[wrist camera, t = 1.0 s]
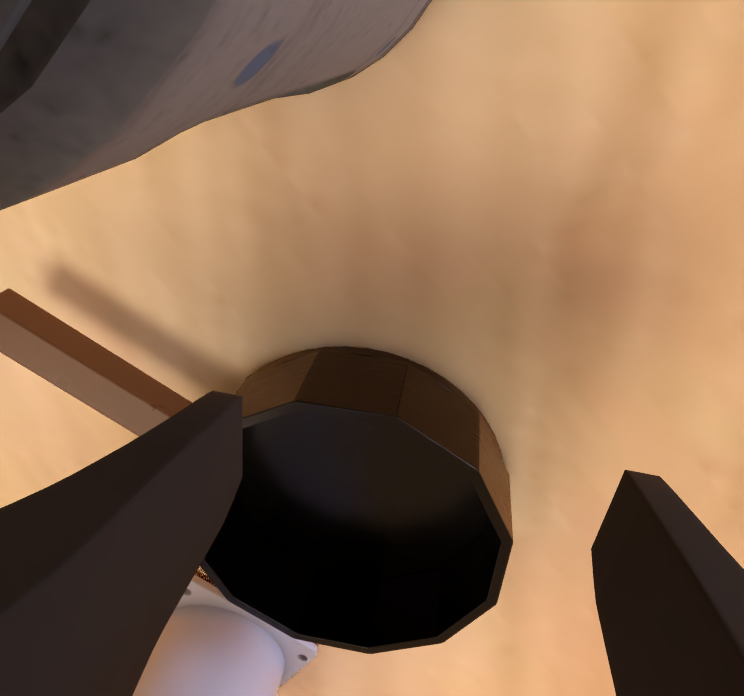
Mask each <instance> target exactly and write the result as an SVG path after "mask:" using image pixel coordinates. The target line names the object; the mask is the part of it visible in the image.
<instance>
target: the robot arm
mask: <svg viewBox="0 0 744 696" xmlns="http://www.w3.org/2000/svg"><path fill="white" fill-rule="evenodd" d="M242 420H243V396H238V395H232V394H227V393H222V392H217V391H211V392H209V393H208V394H206V395H204V396H203V397H201V398H199V399H198V400H196V401H195V402H193V403H192V404H190V405H188V406H187V407H185V408H184V409H182V410H181V411H179V412H178V413H176V414H175V415H173V416H171V417H170V418H168V419H167V420H165V421H164V422H162V423H160V424H159V425H157V426H156V427H154V428H152V429H151V430H149V431H148V432H146V433H144V434H143V435H141V436H139V437H138V438H136V439H135V440H133V441H131V442H130V443H128V444H126V445H125V446H123V447H121V448H119V449H118V450H116V451H114V452H112V453H110V454H109V455H107V456H105V457H103V458H101V459H100V460H98V461H96V462H94V463H92V464H91V465H89V466H87V467H85V468H84V469H82V470H80V471H78V472H76V473H74V474H73V475H71V476H69V477H67V478H65V479H63V480H61V481H59V482H57V483H55V484H53V485H51V486H49V487H47V488H44V489H42V490H40V491H38V492H36V493H34V494H31V495H29V496H27V497H25V498H23V499H21V500H18V501H16V502H14V503H12V504H9V505H7V506H5V507H2V508H0V696H276V695H277V692H278V688H280V687H281V686H282V685H283V684H284V683H285V682H287V681H288V680H289V679H290V678H291V677H293V676H294V675H295V674H296V673H297V672H298V671H300V670H301V669H302V668H303V667H304V666H306V665H307V664H308V663H309V662H310V661H311V660H313V659H314V658H315V657H316V655H317V652H318V647H317V646H316V644H314V643H312V642H307V641H302V640H297V639H294V638H291V637H290V636H288V635H286V634H284V633H283V632H281V631H279V630H277V629H276V628H274V627H272V626H271V625H269V624H267V623H265V622H264V621H262V620H260V619H258V618H257V617H255V616H253V615H251V614H250V613H248V612H246V611H244V610H243V609H241V608H239V607H237V606H236V605H234V604H232V603H230V602H229V601H228V600H226V598H225V597H224V596H223V594H222V593H221V592H220V591H219V589H218V588H217V587H216V586H214V585H212V584H210V583H209V582H207V581H205V580H203V579H202V578H200V577H198V576H196V575H195V573H196V571H197V570H198V568H199V566H200V564H201V563H202V561H203V559H204V557H205V556H206V554H207V552H208V550H209V549H210V547H211V545H212V543H213V541H214V540H215V538H216V536H217V534H218V532H219V531H220V529H221V527H222V525H223V523H224V521H225V519H226V516H227V514H228V512H229V509H230V507H231V505H232V502H233V500H234V497H235V495H236V492H237V490H238V487H239V485H240V482H241V479H242ZM591 551H592V565H593V578H594V588H595V598H596V605H597V610H598V615H599V619H600V624H601V629H602V633H603V638H604V643H605V647H606V652H607V656H608V661H609V665H610V669H611V674H612V678H613V683H614V687H615V692H616V696H744V569H743V568H742V567H741V566H740V565H739V564H738V563H737V562H736V560H735V559H734V558H733V557H732V556H731V555H730V554H729V553H728V552H727V551H726V549H725V548H724V547H723V546H722V545H721V544H720V543H719V542H718V540H717V539H716V538H715V537H714V536H713V535H712V534H711V533H710V531H709V530H708V529H707V528H706V527H705V526H704V525H703V524H702V522H701V521H700V520H699V519H698V518H697V517H696V516H695V515H694V513H693V512H692V511H691V510H690V509H689V508H688V507H687V505H686V504H685V503H684V502H683V501H682V500H681V499H680V498H679V496H678V495H677V494H676V493H675V492H674V491H673V490H672V489H671V488H670V487H669V485H668V484H667V483H666V482H665V481H664V480H663V479H662V478H661V477H660V476H655V475H650V474H645V473H639V472H634V471H629V470H625V471H624V474H623V476H622V478H621V481H620V483H619V485H618V488H617V490H616V492H615V495H614V497H613V499H612V502H611V504H610V506H609V509H608V511H607V513H606V516H605V518H604V520H603V522H602V525H601V527H600V529H599V532H598V534H597V536H596V539H595V541H594V543H593V546H592V548H591Z"/></svg>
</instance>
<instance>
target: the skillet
mask: <svg viewBox="0 0 744 696" xmlns="http://www.w3.org/2000/svg"><path fill="white" fill-rule="evenodd" d="M0 352H1V353H3V354H4V355H6V356H8V357H9V358H11V359H13V360H14V361H16V362H17V363H19V364H21V365H22V366H24V367H26V368H27V369H29V370H31V371H32V372H34V373H36V374H37V375H39V376H41V377H42V378H44V379H45V380H47V381H49V382H50V383H52V384H54V385H55V386H57V387H59V388H60V389H62V390H64V391H65V392H67V393H69V394H70V395H72V396H73V397H75V398H77V399H78V400H80V401H82V402H83V403H85V404H87V405H88V406H90V407H92V408H93V409H95V410H97V411H98V412H100V413H101V414H103V415H105V416H106V417H108V418H110V419H111V420H113V421H115V422H116V423H118V424H120V425H121V426H123V427H125V428H126V429H128V430H129V431H131V432H133V433H134V434H136V435H138V436H141V435H143V434H144V433H146V432H148V431H149V430H151V429H152V428H154V427H156V426H157V425H159V424H160V423H162V422H164V421H165V420H167V419H168V418H170V417H171V416H173V415H175V414H176V413H178V412H179V411H181V410H182V409H184V408H185V407H187V406H188V405H190V404H192V402H190V401H188V400H187V399H185V398H184V397H182V396H180V395H179V394H177V393H176V392H174V391H172V390H171V389H169V388H168V387H166V386H165V385H163V384H161V383H160V382H158V381H157V380H155V379H153V378H152V377H150V376H149V375H147V374H145V373H144V372H142V371H141V370H139V369H137V368H136V367H134V366H133V365H131V364H129V363H128V362H126V361H125V360H123V359H121V358H120V357H118V356H117V355H115V354H113V353H112V352H110V351H109V350H107V349H105V348H104V347H102V346H101V345H99V344H97V343H96V342H94V341H93V340H91V339H90V338H88V337H86V336H85V335H83V334H82V333H80V332H78V331H77V330H75V329H74V328H72V327H70V326H69V325H67V324H66V323H64V322H62V321H61V320H59V319H58V318H56V317H54V316H53V315H51V314H50V313H48V312H46V311H45V310H43V309H42V308H40V307H38V306H37V305H35V304H34V303H32V302H30V301H29V300H27V299H26V298H24V297H22V296H21V295H19V294H18V293H16V292H15V291H13V290H11V289H6V290H5V291H3V292H1V293H0ZM236 395H238V396H243V420H242V479H241V482H240V485H239V487H238V490H237V492H236V495H235V497H234V500H233V502H232V505H231V507H230V509H229V512H228V514H227V516H226V519H225V521H224V523H223V525H222V527H221V529H220V531H219V532H218V534H217V536H216V538H215V540H214V541H213V543H212V545H211V547H210V549H209V550H208V552H207V554H206V556H205V557H204V559H203V561H202V563H201V564H200V567H201V568H202V569H203V570H204V572H205V573H206V574H207V576H208V577H209V578H210V579H211V581H212V582H213V583H214V584H215V586H216V587H217V588H218V589H219V591H220V592H221V593H222V594H223V596H224V597H225V598H226V600H228V601H229V602H230V603H232V604H234V605H236V606H237V607H239V608H241V609H243V610H244V611H246V612H248V613H250V614H251V615H253V616H255V617H257V618H258V619H260V620H262V621H264V622H265V623H267V624H269V625H271V626H272V627H274V628H276V629H277V630H279V631H281V632H283V633H284V634H286V635H288V636H290V637H291V638H294V639H297V640H302V641H307V642H312V643H317V644H322V645H327V646H332V647H337V648H342V649H347V650H352V651H357V652H362V653H367V654H369V653H370V654H374V653H380V652H387V651H393V650H400V649H407V648H413V647H420V646H426V645H433V644H440V643H442V642H445V641H446V640H448V639H449V638H450V637H452V636H453V635H454V634H456V633H457V632H459V631H460V630H461V629H463V628H464V627H466V626H467V625H468V624H470V623H471V622H473V621H474V620H475V619H477V618H478V617H479V616H481V615H482V614H484V613H485V612H486V611H488V610H489V609H491V608H492V607H493V606H495V605H496V604H497V601H498V597H499V594H500V590H501V586H502V582H503V579H504V575H505V571H506V567H507V564H508V560H509V556H510V552H511V549H512V545H513V532H512V515H511V499H510V482H509V474H508V472H507V470H506V468H505V465H504V463H503V461H502V457H501V452H500V449H499V446H498V443H497V441H496V438H495V435H494V433H493V432H492V430H491V428H490V426H489V424H488V423H487V421H486V419H485V418H484V417H483V415H482V414H481V413H480V411H479V410H478V409H477V407H476V406H475V405H474V404H473V403H472V402H471V401H470V400H469V399H468V398H467V397H466V396H465V395H464V394H463V393H462V392H461V391H460V390H459V389H458V388H456V387H455V386H454V385H453V384H451V383H450V382H449V381H447V380H446V379H445V378H443V377H442V376H440V375H438V374H437V373H435V372H433V371H432V370H430V369H428V368H427V367H424V366H422V365H420V364H418V363H416V362H413V361H411V360H409V359H406V358H403V357H400V356H397V355H394V354H391V353H388V352H383V351H378V350H373V349H368V348H358V347H324V348H317V349H311V350H306V351H302V352H299V353H295V354H292V355H288V356H286V357H284V358H282V359H279V360H277V361H275V362H273V363H271V364H269V365H268V366H266V367H265V368H263V369H261V370H260V371H258V372H257V373H255V374H252V375H250V376H248V377H247V379H246V380H245V382H244V383H243V384H242V386H241V387H240V389H239V390H238V392H237V393H236Z"/></svg>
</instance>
